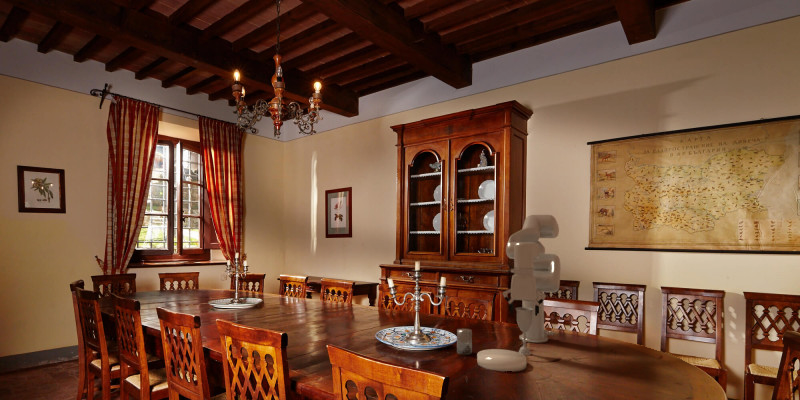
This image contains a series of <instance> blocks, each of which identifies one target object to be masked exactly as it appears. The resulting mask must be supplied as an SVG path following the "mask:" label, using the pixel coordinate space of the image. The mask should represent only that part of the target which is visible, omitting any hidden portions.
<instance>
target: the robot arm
mask: <svg viewBox="0 0 800 400" xmlns="http://www.w3.org/2000/svg"><path fill="white" fill-rule="evenodd" d="M559 232H560V228H559V224H558V221H557V219H556V217H554V216H553V215H552V214H530V215H528V216H527V217H526V218H525V219H524V221H523V226H522V229H520V230H518V231H516V232H515V233H512V234H511V235H510V236H509V238H508V241H507V243H506V245H505V246H506V247H505V254H506V256H507V258H509V259H510V260H511V259H512V260H513V261H514V262H513V264H514V265H513V266H514V267H513V268H510V272H511V273H513V275H512V277H511V283H510V288H509V289H507V290H505V291H503V292H502V296H503V298H504V299H505V301H506V302H507V303H508V305H509V307H508V309H509V311H508V312H510V314H512V315H513V314H514V303H513V302H514V301H522V304H521V305H522V306H521V307H525V308H532V309H533V311H532V324H531V326H530V328H529V330H528V331H527V332H526V341H527V342H528V343H537V344H538V343H546V342H548V340H549V337H548V336H554V335H555V334H554V330H547V329H545V312H544V311H545V310H544V309H545V308H544V307H545V306H544V305H545V304H544V301H545V299H546V297H547V295H546V294H545V293H551V294H552V293H557V292H558V291H559V290H560V284H561V260H560V257H559V256H558V255H557V254H554V253H546V247H545V246H544V244H543V243H542V242H541V241H539V240H540V239H556V238H557V237H558V236H559ZM508 294H510V298H509V297H508ZM522 336H523V333H522V334H519V340H521V341H523V337H522ZM527 342H526V343H527Z"/></svg>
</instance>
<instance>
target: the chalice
mask: <svg viewBox="0 0 800 400" xmlns="http://www.w3.org/2000/svg"><path fill="white" fill-rule="evenodd" d="M514 309H515V312H516V323H517V326H518V328H519V330H520V332H522V334H523V336H522V337H523V340H522V344H523V345H522V346H521V347H520V348H519V350H518V352H519V353H521V354H523V355H525V356H531V355H532V353H531V351H530V348H529V347H527V341H526V332H527V331H528V330H529V328H530V326H531V324H532V311H533V309H532V308H525V307H522V306H521V307H518V306H517V307H515V308H514Z"/></svg>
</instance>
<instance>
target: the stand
mask: <svg viewBox="0 0 800 400" xmlns="http://www.w3.org/2000/svg"><path fill="white" fill-rule="evenodd" d="M476 361H477V362H476V363H477V365H478V366H480V367H481V368H484V369H487V370H490V371H496V372H505V371H506V372H507V371H512V372H520V371H523V370H525V369H526V368H527V355H523V354H521V353H519V351H515V350H509V349H500V348H499V349H497V348H491V349H483V350H480V351H478V352H477V354H476Z"/></svg>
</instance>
